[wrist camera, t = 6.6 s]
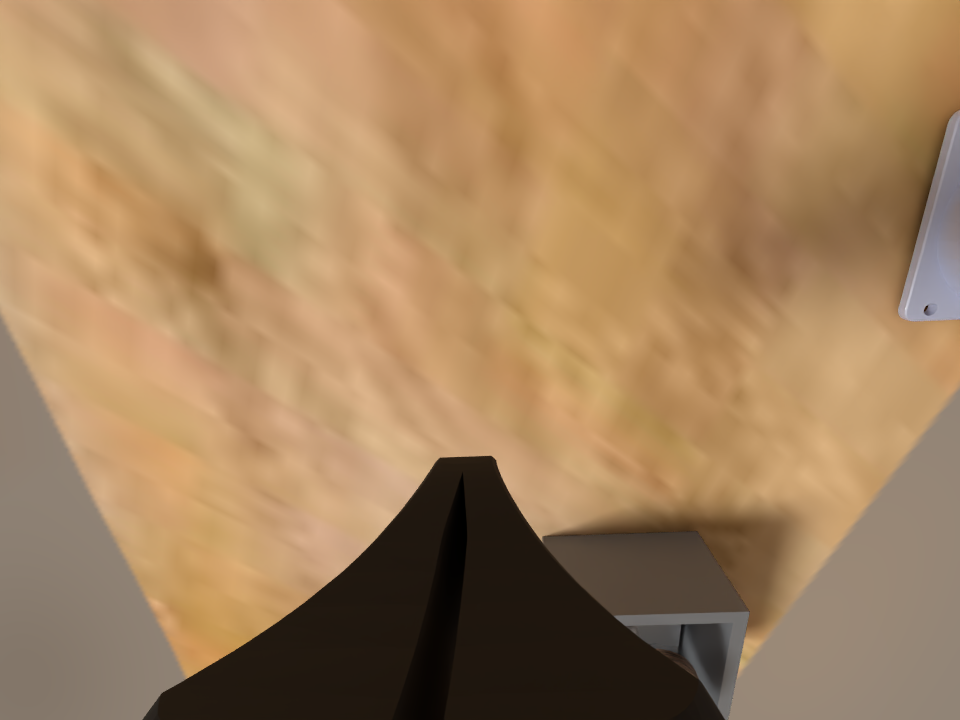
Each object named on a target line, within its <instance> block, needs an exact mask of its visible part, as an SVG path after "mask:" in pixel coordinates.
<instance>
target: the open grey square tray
mask: <svg viewBox="0 0 960 720" xmlns="http://www.w3.org/2000/svg"><path fill="white" fill-rule="evenodd" d="M542 543H543V544H544V545H545V546H546V548H547V549H548V550H549V551H550V553H551V554H552V555H553V556H554V557H555V558H556V560H557V561H558V562H559V563H560V564H561V565H562V566H563V567H564V569H565V570H566V571H567V572H568V573H569V574H570V575H571V576H572V577H573V578H574V579H575V580H576V581H577V582H578V583H579V584H580V585H581V586H582V587H583V588H584V589H585V590H586V591H587V592H588V593H589V594H590V595H591V596H592V597H594V598H595V599H596V600H597V601H598V602H599V603H600V604H601V605H602V606H603V607H604V608H605V609H606V610H608V611H609V612H610V613H611V614H612V615H613V616H614V617H615V618H616V619H617V620H619V621H620V622H621V623H622V624H624V625H625V626H641V625H676V624H681V631H680V638H679V646H678V653H677V654H679V655H681V656H683V657H684V658H686V659H687V660H688V661H689V662H690V663H691V664H692V666H693V667H694V669H695V671H696V673H697V675H698V678H699V680H700V681H701V682H702V684H703V685H704V687H705V688H706V690H707V691H708V693H709V694H710V696H711V698H712V699H713V701H714V702H715V704H716V706H717V707H718V709H719V710H720V712H721V714H722V715H723V717H724V719H725V720H728V719H729V714H730V708H731V704H732V699H733V694H734V688H735V683H736V678H737V673H738V668H739V663H740V658H741V653H742V648H743V643H744V638H745V633H746V628H747V623H748V618H749V613H750V611H749V610H748V608H747V607H746V605H745V604H744V602H743V601H742V599H741V598H740V596H739V594H738V593H737V591H736V590H735V588H734V587H733V585H732V584H731V582H730V581H729V579H728V578H727V576H726V575H725V573H724V572H723V570H722V568H721V567H720V565H719V564H718V562H717V561H716V559H715V558H714V556H713V555H712V553H711V552H710V550H709V549H708V547H707V545H706V544H705V542H704V541H703V539H702V538H701V536H700V535H699V533H698V532H697V531H686V532H658V533H629V534H600V535H571V536H543V537H542Z"/></svg>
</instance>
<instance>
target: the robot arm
mask: <svg viewBox="0 0 960 720" xmlns="http://www.w3.org/2000/svg"><path fill="white" fill-rule="evenodd" d="M927 305H928V308H927V310H926V311H925V312H924V309H925V307H926V306H927ZM898 314H899V316H900V317H901V318H902V319H905V320H909V321H935V320H958V319H960V110H958V111H957V112H955V113H954V114H953V115H952V117H951V118H950V120H949V122H948V125H947V129H946V133H945V136H944V140H943V144H942V148H941V151H940V155H939V159H938V163H937V166H936V170H935V174H934V178H933V181H932V185H931V189H930V193H929V196H928V200H927V204H926V208H925V211H924V215H923V219H922V223H921V226H920V230H919V234H918V238H917V241H916V245H915V249H914V253H913V256H912V260H911V264H910V268H909V271H908V275H907V279H906V283H905V286H904V290H903V294H902V298H901V301H900V305H899V309H898ZM143 720H725V719H724V717H723V715H722V714H721V712H720V710H719V709H718V707H717V706H716V704H715V702H714V701H713V699H712V698H711V696H710V694H709V693H708V691H707V690H706V688H705V687H704V685H703V684H702V682H701V681H700V680H699V679H697V678H696V677H695V676H693V675H692V674H690V673H689V672H688V671H686V670H685V669H683V668H682V667H680V666H679V665H678V664H676V663H675V662H673V661H672V660H671V659H669V658H668V657H666V656H665V655H663V654H662V653H661V652H659V651H658V650H656V649H655V648H654V647H652V646H651V645H649V644H648V643H646V642H645V641H644V640H642V639H641V638H640V637H638V636H637V635H636V634H635V633H633V632H632V631H631V630H630V629H628V628H627V627H626V626H625V625H624V624H622V623H621V622H620V621H619V620H617V619H616V618H615V617H614V616H613V615H612V614H611V613H610V612H609V611H608V610H606V609H605V608H604V607H603V606H602V605H601V604H600V603H599V602H598V601H597V600H596V599H595V598H594V597H592V596H591V595H590V594H589V593H588V592H587V591H586V590H585V589H584V588H583V587H582V586H581V585H580V584H579V583H578V582H577V581H576V580H575V579H574V578H573V577H572V576H571V575H570V574H569V573H568V572H567V571H566V570H565V569H564V567H563V566H562V565H561V564H560V563H559V562H558V561H557V560H556V558H555V557H554V556H553V555H552V554H551V553H550V551H549V550H548V549H547V548H546V546H545V545H544V544H543V543H542V541H541V540H540V539H539V537H538V536H537V535H536V533H535V532H534V531H533V529H532V528H531V526H530V525H529V524H528V522H527V521H526V519H525V518H524V516H523V515H522V513H521V512H520V510H519V508H518V507H517V505H516V503H515V502H514V500H513V498H512V497H511V495H510V493H509V491H508V489H507V487H506V485H505V483H504V481H503V479H502V477H501V475H500V472H499V470H498V466H497V463H496V460H495V459H494V458H493V457H492V456H475V457H447V458H439V459H438V460H437V461H436V462H435V464H434V466H433V467H432V469H431V470H430V472H429V473H428V475H427V476H426V478H425V479H424V481H423V482H422V483H421V485H420V486H419V488H418V489H417V490H416V492H415V493H414V494H413V496H412V497H411V498H410V500H409V501H408V502H407V503H406V505H405V506H404V507H403V509H402V510H401V511H400V512H399V514H398V515H397V516H396V517H395V518H394V519H393V521H392V522H391V523H390V524H389V525H388V526H387V527H386V528H385V530H384V531H383V532H382V533H381V534H380V535H379V536H378V538H377V539H376V540H375V541H374V542H373V543H372V544H371V545H370V546H369V547H368V548H367V549H366V550H365V551H364V552H363V553H362V554H361V555H360V556H359V557H358V558H357V559H356V560H355V561H354V562H353V563H351V564H350V565H349V566H348V567H347V568H346V569H345V570H344V571H343V572H342V573H341V574H339V575H338V576H337V577H336V578H334V579H333V580H332V581H331V582H329V583H328V584H327V585H326V586H325V587H323V588H322V589H321V590H320V591H318V592H317V593H316V594H315V595H313V596H312V597H311V598H310V599H308V600H307V601H306V602H305V603H303V604H302V605H301V606H299V607H298V608H297V609H295V610H294V611H293V612H291V613H290V614H288V615H287V616H286V617H284V618H283V619H281V620H280V621H279V622H277V623H276V624H274V625H273V626H271V627H270V628H268V629H267V630H265V631H264V632H262V633H261V634H259V635H258V636H256V637H255V638H253V639H252V640H250V641H249V642H247V643H246V644H244V645H243V646H241V647H239V648H238V649H236V650H235V651H233V652H231V653H230V654H228V655H226V656H225V657H223V658H221V659H220V660H218V661H216V662H215V663H213V664H211V665H210V666H208V667H206V668H204V669H203V670H201V671H199V672H198V673H196V674H194V675H193V676H191V677H189V678H188V679H186V680H184V681H183V682H181V683H179V684H177V685H176V686H174V687H172V688H170V689H168V690H167V691H165V692H163V693H162V694H161V695H160V697H159V698H158V699H157V701H156V702H155V703H154V705H153V706H152V707H151V709H150V710H149V712H148V713H147V714H146V716H145V717H144V719H143Z"/></svg>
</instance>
